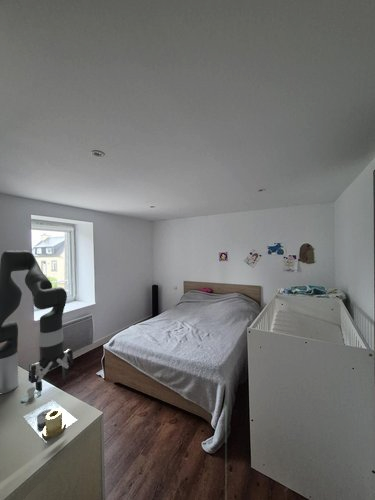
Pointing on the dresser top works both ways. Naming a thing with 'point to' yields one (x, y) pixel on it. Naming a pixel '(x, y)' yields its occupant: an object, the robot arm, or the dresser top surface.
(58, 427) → the brass octagonal tube
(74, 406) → the dresser top surface
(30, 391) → the pacifier
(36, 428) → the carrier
